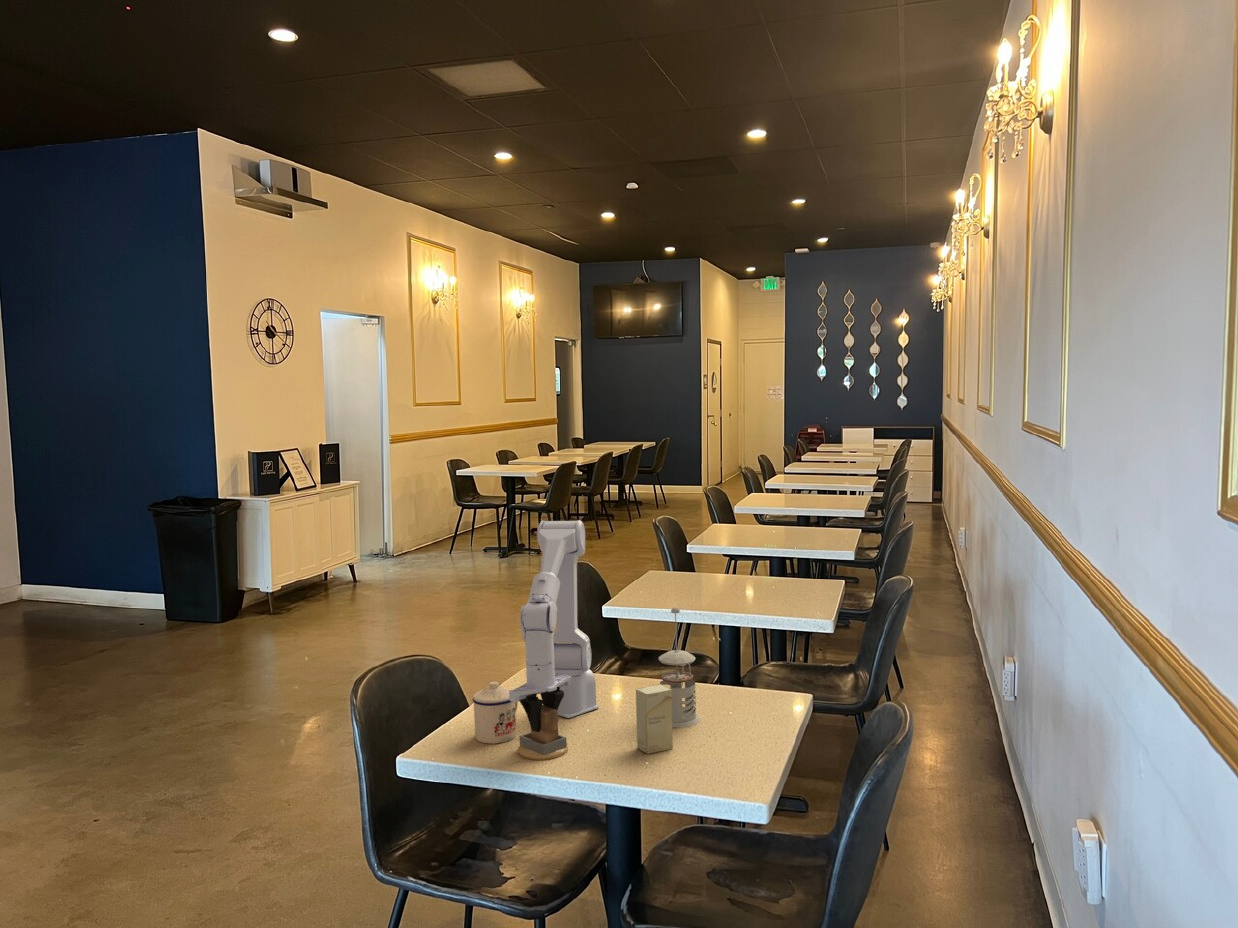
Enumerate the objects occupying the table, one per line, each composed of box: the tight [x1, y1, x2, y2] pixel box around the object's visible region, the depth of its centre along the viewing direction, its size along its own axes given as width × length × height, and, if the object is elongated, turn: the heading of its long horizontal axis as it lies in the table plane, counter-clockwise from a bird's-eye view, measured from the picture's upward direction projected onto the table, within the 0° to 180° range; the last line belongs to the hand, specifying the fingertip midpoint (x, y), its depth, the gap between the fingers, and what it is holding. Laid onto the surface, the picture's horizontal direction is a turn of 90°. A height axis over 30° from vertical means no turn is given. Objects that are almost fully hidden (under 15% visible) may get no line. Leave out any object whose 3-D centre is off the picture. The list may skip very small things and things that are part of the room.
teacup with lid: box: [471, 681, 518, 744], centre depth 191 cm, size 12×9×12 cm
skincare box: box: [635, 684, 674, 754], centre depth 181 cm, size 6×4×12 cm
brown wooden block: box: [530, 704, 559, 744], centre depth 181 cm, size 3×5×7 cm, turn 44°
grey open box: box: [518, 731, 569, 761], centre depth 182 cm, size 10×10×3 cm
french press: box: [657, 606, 702, 728], centre depth 197 cm, size 10×12×25 cm
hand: (542, 728), depth 181 cm, fingers closed on brown wooden block, 3 cm apart
